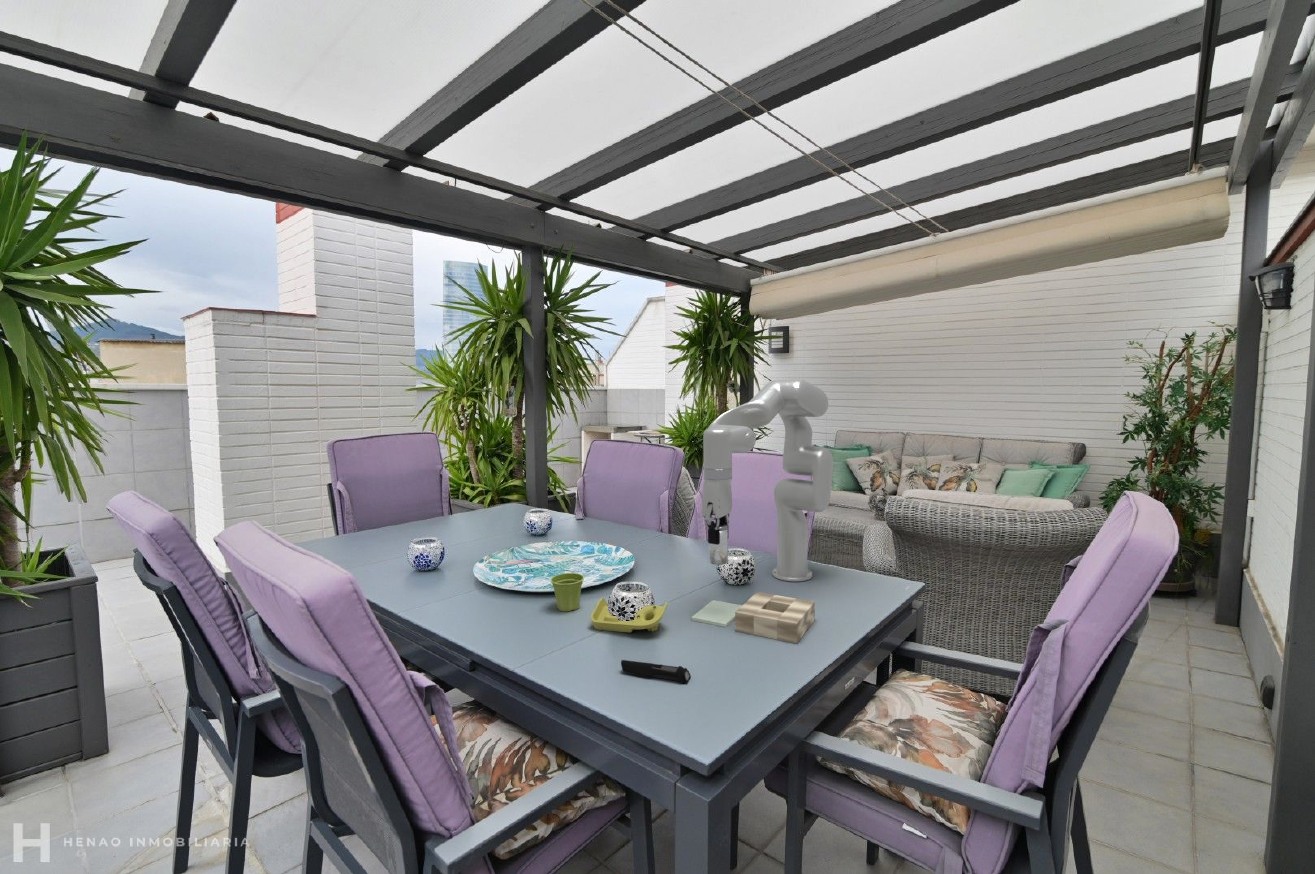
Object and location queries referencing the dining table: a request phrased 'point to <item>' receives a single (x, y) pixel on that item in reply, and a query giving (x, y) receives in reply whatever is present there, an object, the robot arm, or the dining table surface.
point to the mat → (717, 613)
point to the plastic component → (646, 620)
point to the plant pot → (567, 590)
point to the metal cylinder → (720, 548)
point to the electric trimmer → (656, 671)
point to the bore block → (775, 617)
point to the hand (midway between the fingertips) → (718, 540)
